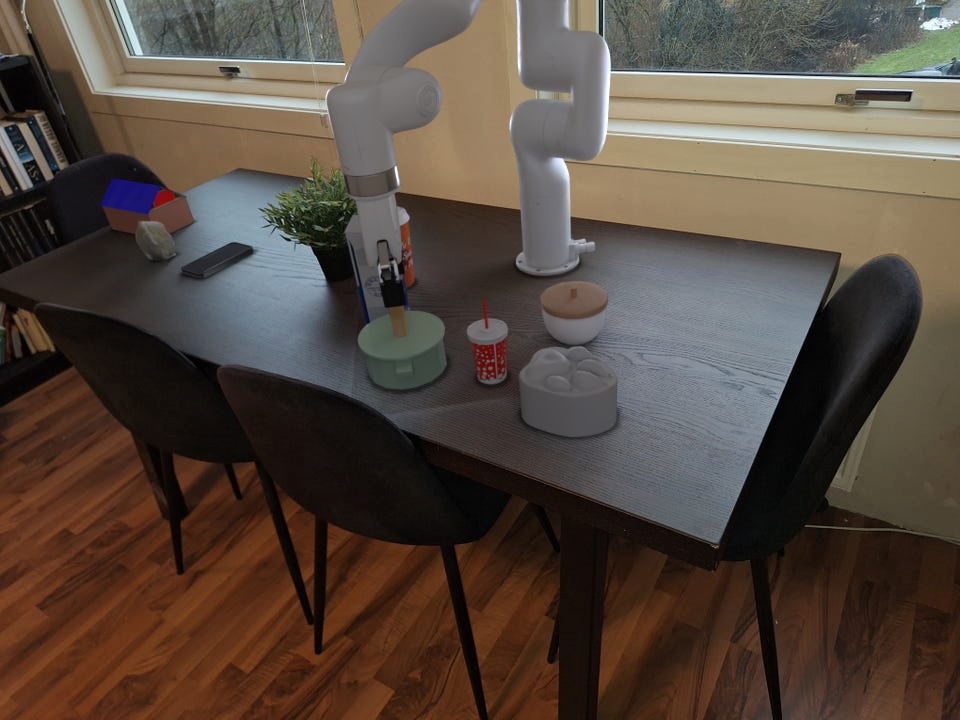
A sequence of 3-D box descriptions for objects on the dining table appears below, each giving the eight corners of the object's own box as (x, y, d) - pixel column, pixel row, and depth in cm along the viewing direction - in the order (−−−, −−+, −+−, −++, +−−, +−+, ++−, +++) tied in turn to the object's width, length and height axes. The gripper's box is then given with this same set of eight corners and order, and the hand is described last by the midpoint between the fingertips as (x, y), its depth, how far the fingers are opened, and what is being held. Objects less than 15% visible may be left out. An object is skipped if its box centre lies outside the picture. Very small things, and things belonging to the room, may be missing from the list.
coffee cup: (413, 294, 127) (400, 222, 119) (373, 293, 129) (358, 222, 121) (425, 274, 134) (413, 204, 125) (387, 273, 136) (373, 204, 127)
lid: (442, 311, 109) (437, 278, 106) (448, 356, 98) (443, 321, 95) (360, 322, 109) (353, 290, 106) (357, 369, 98) (348, 335, 94)
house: (157, 239, 164) (139, 194, 157) (110, 229, 173) (91, 186, 167) (196, 221, 172) (180, 177, 165) (149, 212, 181) (132, 170, 175)
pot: (443, 333, 114) (438, 302, 111) (451, 395, 100) (445, 361, 96) (371, 343, 114) (364, 312, 110) (368, 407, 99) (360, 374, 96)
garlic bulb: (167, 272, 153) (147, 242, 144) (136, 265, 154) (115, 234, 146) (189, 245, 158) (172, 213, 149) (160, 237, 159) (141, 206, 151)
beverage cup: (503, 362, 105) (496, 285, 98) (517, 383, 101) (511, 304, 93) (467, 372, 104) (457, 295, 96) (479, 394, 99) (470, 314, 91)
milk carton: (375, 314, 122) (352, 213, 111) (410, 312, 122) (392, 209, 110) (368, 335, 116) (344, 230, 105) (405, 332, 116) (385, 227, 105)
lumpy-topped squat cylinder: (544, 381, 100) (542, 333, 95) (627, 401, 94) (629, 351, 90) (514, 422, 93) (510, 373, 88) (601, 447, 87) (602, 395, 82)
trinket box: (591, 361, 103) (591, 310, 98) (531, 346, 109) (528, 296, 103) (617, 328, 111) (618, 278, 105) (560, 315, 116) (558, 267, 110)
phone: (254, 246, 151) (200, 274, 141) (255, 251, 152) (201, 279, 142) (232, 241, 155) (178, 268, 145) (234, 245, 156) (180, 272, 146)
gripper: (348, 163, 96) (371, 267, 106) (341, 208, 82) (369, 323, 92) (398, 155, 96) (418, 260, 106) (400, 199, 82) (422, 315, 92)
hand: (395, 289), depth 99 cm, fingers open, 9 cm apart
